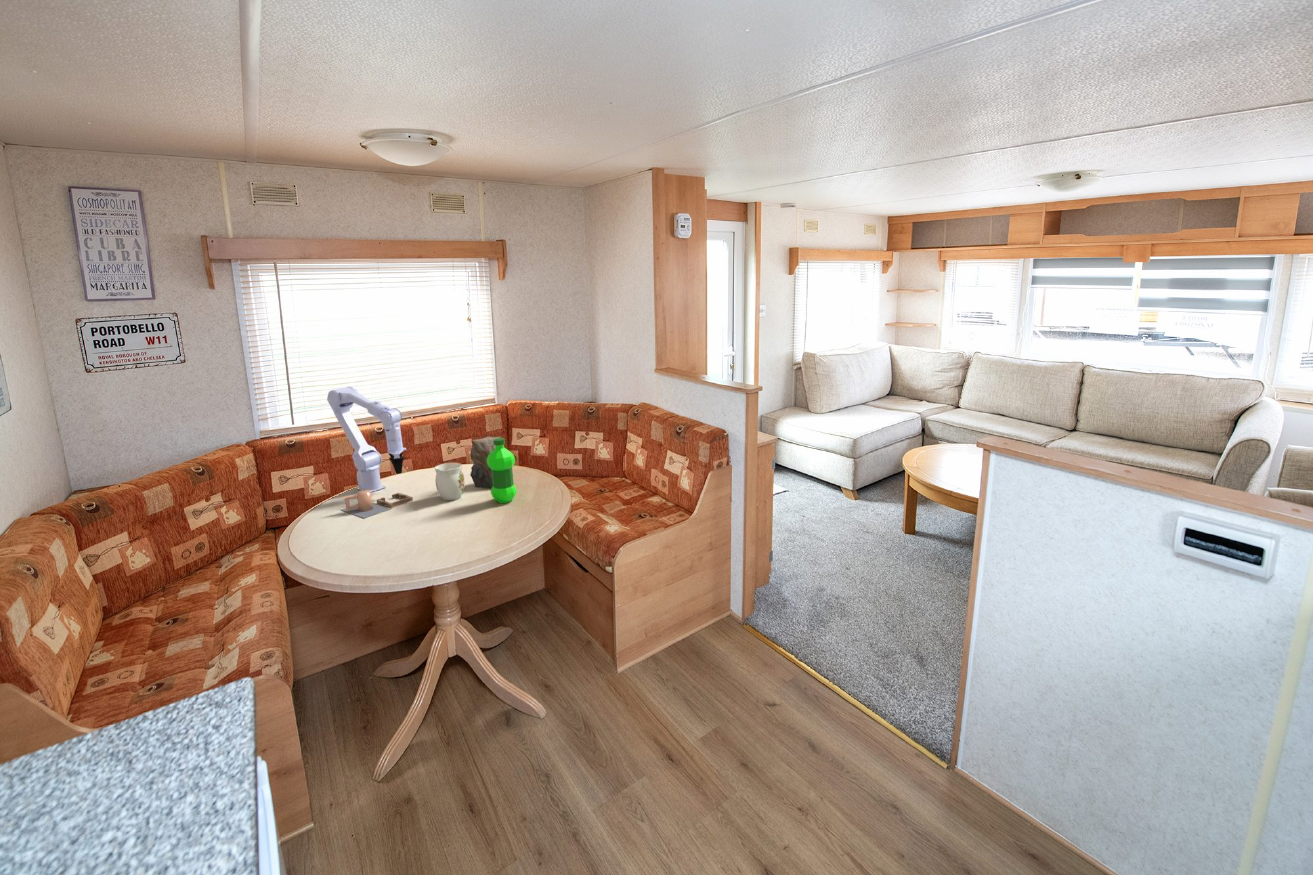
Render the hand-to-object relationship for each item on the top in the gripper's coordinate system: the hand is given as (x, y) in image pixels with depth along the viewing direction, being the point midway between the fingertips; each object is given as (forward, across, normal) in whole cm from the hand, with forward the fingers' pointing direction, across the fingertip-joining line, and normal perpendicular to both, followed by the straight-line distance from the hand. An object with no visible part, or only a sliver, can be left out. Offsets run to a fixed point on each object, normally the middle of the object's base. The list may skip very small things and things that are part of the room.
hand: (398, 470), depth 252 cm
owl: (+10, -9, -35) cm, 37 cm away
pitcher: (+10, -16, -18) cm, 26 cm away
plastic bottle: (+10, -31, -36) cm, 49 cm away
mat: (+9, -15, +14) cm, 22 cm away
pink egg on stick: (+9, -15, +15) cm, 23 cm away
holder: (+9, -11, +3) cm, 15 cm away
